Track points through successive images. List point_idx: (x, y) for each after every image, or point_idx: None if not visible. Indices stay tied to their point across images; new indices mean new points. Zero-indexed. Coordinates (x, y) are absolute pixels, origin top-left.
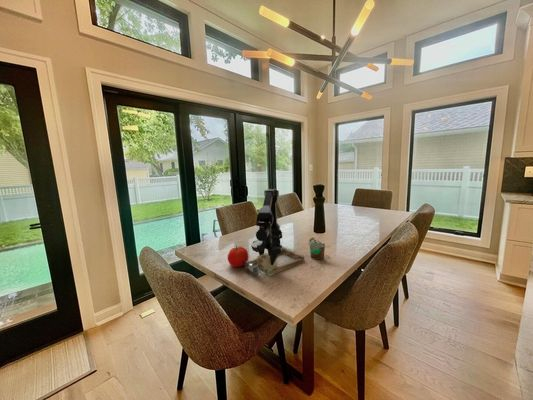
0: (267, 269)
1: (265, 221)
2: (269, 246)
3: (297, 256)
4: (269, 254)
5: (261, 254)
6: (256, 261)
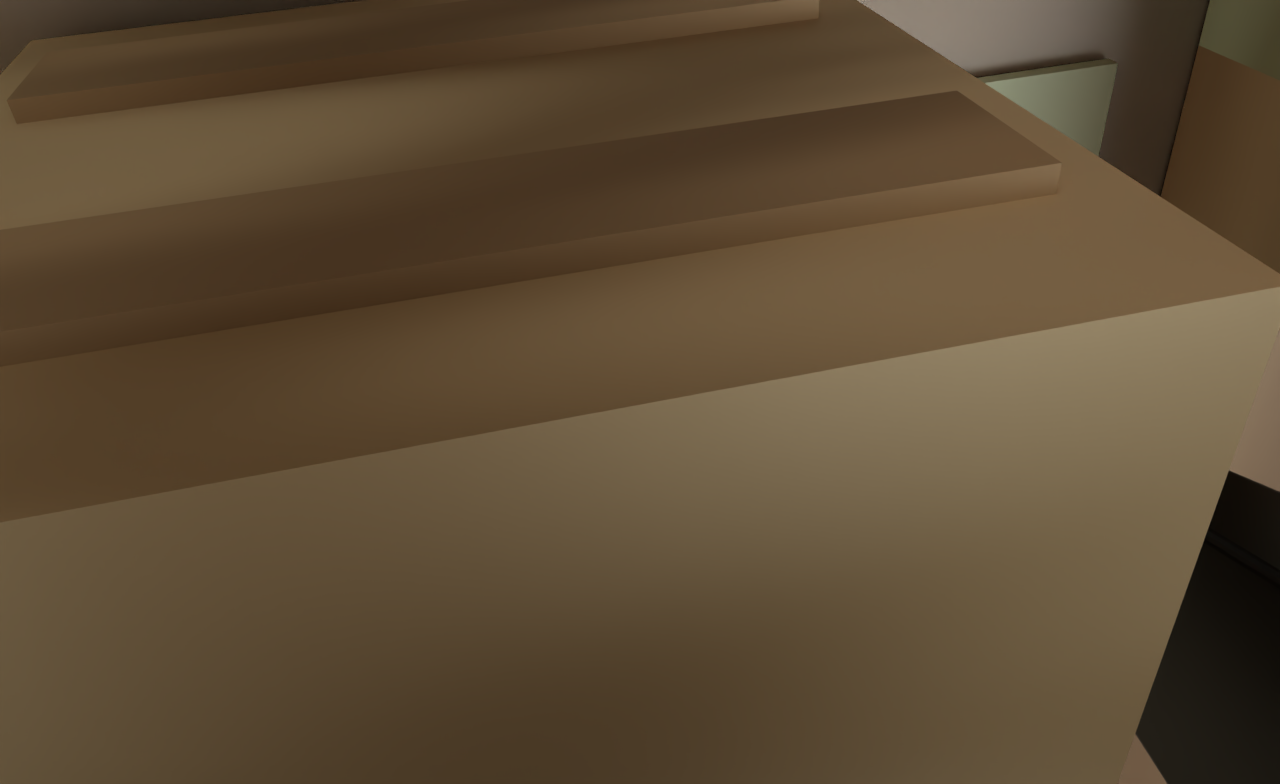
0: None
1: None
2: None
3: None
4: None
5: (1265, 687)
6: (1240, 139)
